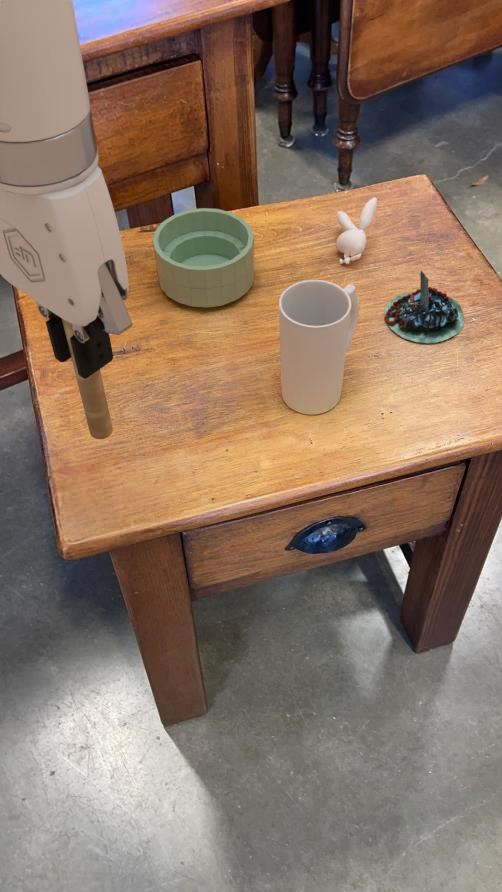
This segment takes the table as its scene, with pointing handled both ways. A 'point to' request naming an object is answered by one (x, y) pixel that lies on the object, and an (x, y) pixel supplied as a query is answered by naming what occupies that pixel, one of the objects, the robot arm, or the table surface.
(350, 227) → the rabbit figurine
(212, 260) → the bowl
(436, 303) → the dish
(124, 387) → the table surface
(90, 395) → the stick
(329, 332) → the mug
